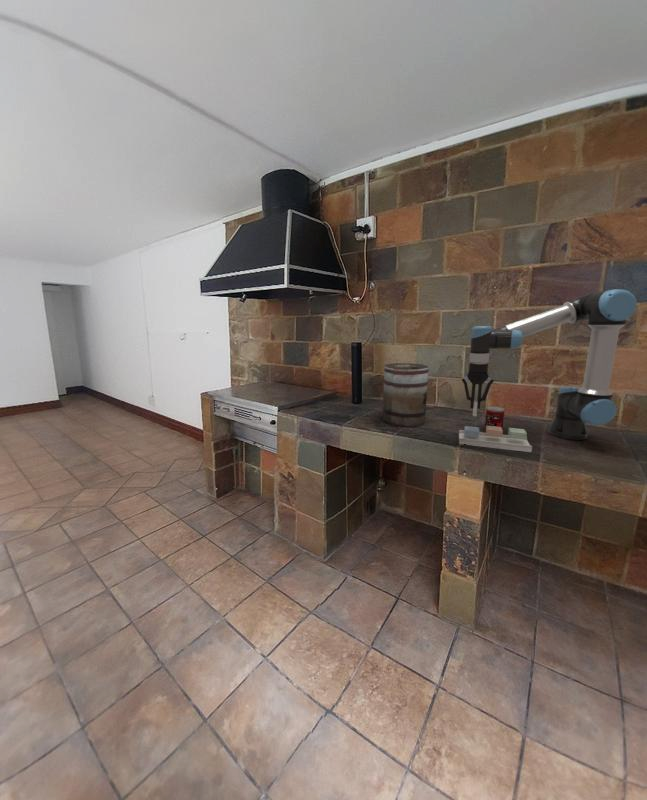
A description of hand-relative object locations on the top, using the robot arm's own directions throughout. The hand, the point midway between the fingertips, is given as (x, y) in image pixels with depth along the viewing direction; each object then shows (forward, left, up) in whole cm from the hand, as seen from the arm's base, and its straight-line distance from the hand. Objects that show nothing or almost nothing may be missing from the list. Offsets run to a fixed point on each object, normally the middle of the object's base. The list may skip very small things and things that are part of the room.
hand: (474, 415), depth 150 cm
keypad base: (-9, 0, -12) cm, 15 cm away
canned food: (-11, -20, -12) cm, 26 cm away
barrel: (+33, -20, -12) cm, 41 cm away
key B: (-9, 0, -8) cm, 12 cm away
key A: (-17, 0, -8) cm, 19 cm away
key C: (0, 0, -10) cm, 9 cm away
